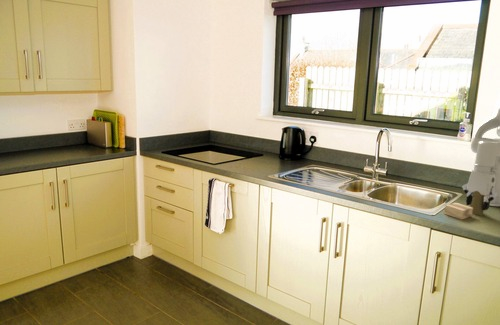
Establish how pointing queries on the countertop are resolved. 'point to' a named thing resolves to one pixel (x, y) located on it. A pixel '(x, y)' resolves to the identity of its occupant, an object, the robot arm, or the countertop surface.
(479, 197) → the cork
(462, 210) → the oak block base
